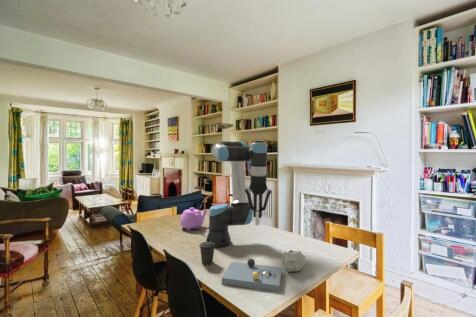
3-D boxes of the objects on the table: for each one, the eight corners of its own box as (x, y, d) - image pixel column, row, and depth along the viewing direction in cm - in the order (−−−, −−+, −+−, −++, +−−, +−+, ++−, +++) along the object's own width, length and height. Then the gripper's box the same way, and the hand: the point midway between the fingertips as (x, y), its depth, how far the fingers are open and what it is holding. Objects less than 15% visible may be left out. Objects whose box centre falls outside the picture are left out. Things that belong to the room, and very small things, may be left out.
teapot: (213, 229, 176) (213, 208, 176) (187, 234, 165) (187, 212, 165) (201, 222, 192) (201, 203, 192) (177, 227, 181) (177, 206, 181)
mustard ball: (251, 280, 101) (251, 273, 101) (252, 277, 104) (252, 270, 103) (258, 281, 100) (258, 274, 100) (259, 277, 103) (259, 270, 103)
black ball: (246, 267, 112) (246, 260, 112) (248, 264, 115) (248, 256, 115) (254, 268, 111) (254, 260, 111) (255, 265, 115) (255, 257, 115)
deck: (221, 283, 103) (221, 277, 103) (231, 266, 118) (231, 261, 118) (279, 291, 97) (279, 285, 97) (281, 272, 113) (281, 267, 112)
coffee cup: (217, 260, 125) (217, 240, 125) (212, 267, 117) (212, 246, 117) (202, 258, 127) (202, 239, 127) (196, 265, 119) (196, 245, 119)
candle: (286, 275, 109) (278, 264, 124) (310, 274, 110) (299, 264, 125) (285, 254, 110) (277, 246, 125) (309, 254, 111) (299, 245, 126)
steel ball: (260, 280, 105) (262, 273, 104) (260, 276, 108) (262, 268, 108) (268, 282, 105) (270, 275, 104) (268, 278, 108) (270, 270, 108)
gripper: (243, 175, 113) (242, 225, 115) (271, 176, 110) (270, 228, 111) (246, 173, 121) (245, 220, 122) (273, 174, 117) (272, 223, 119)
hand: (257, 224), depth 117 cm, fingers closed
